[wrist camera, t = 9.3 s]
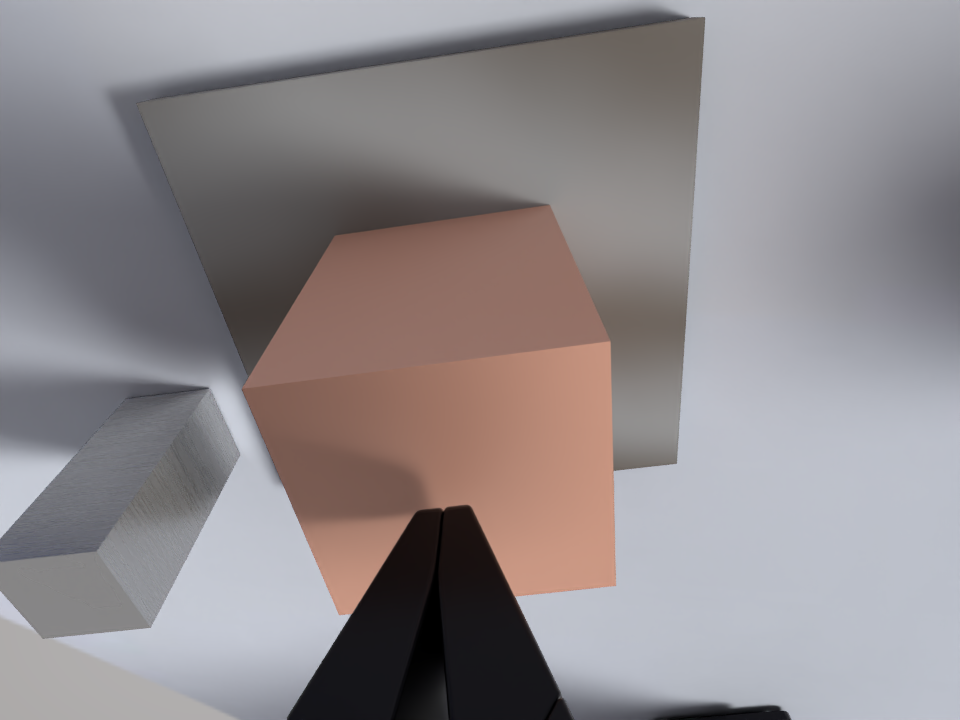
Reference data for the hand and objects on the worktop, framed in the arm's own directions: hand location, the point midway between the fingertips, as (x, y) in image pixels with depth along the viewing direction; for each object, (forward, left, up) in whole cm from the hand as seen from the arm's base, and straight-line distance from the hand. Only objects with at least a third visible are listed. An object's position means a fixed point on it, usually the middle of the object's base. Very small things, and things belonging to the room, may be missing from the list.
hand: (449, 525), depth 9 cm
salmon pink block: (0, 0, -7) cm, 7 cm away
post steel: (-3, +9, -8) cm, 12 cm away
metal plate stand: (0, 0, -8) cm, 8 cm away
